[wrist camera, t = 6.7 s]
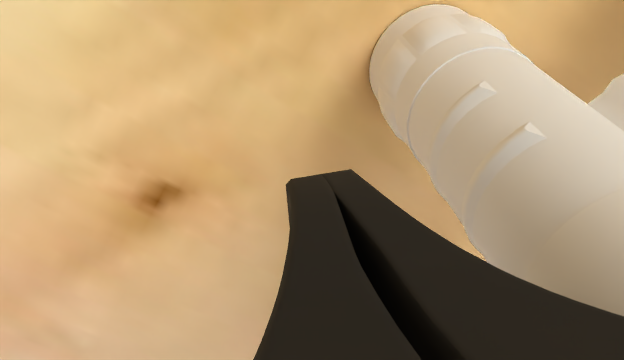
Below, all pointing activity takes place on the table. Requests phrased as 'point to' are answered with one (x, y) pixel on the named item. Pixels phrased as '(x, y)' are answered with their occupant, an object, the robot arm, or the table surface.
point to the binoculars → (510, 151)
